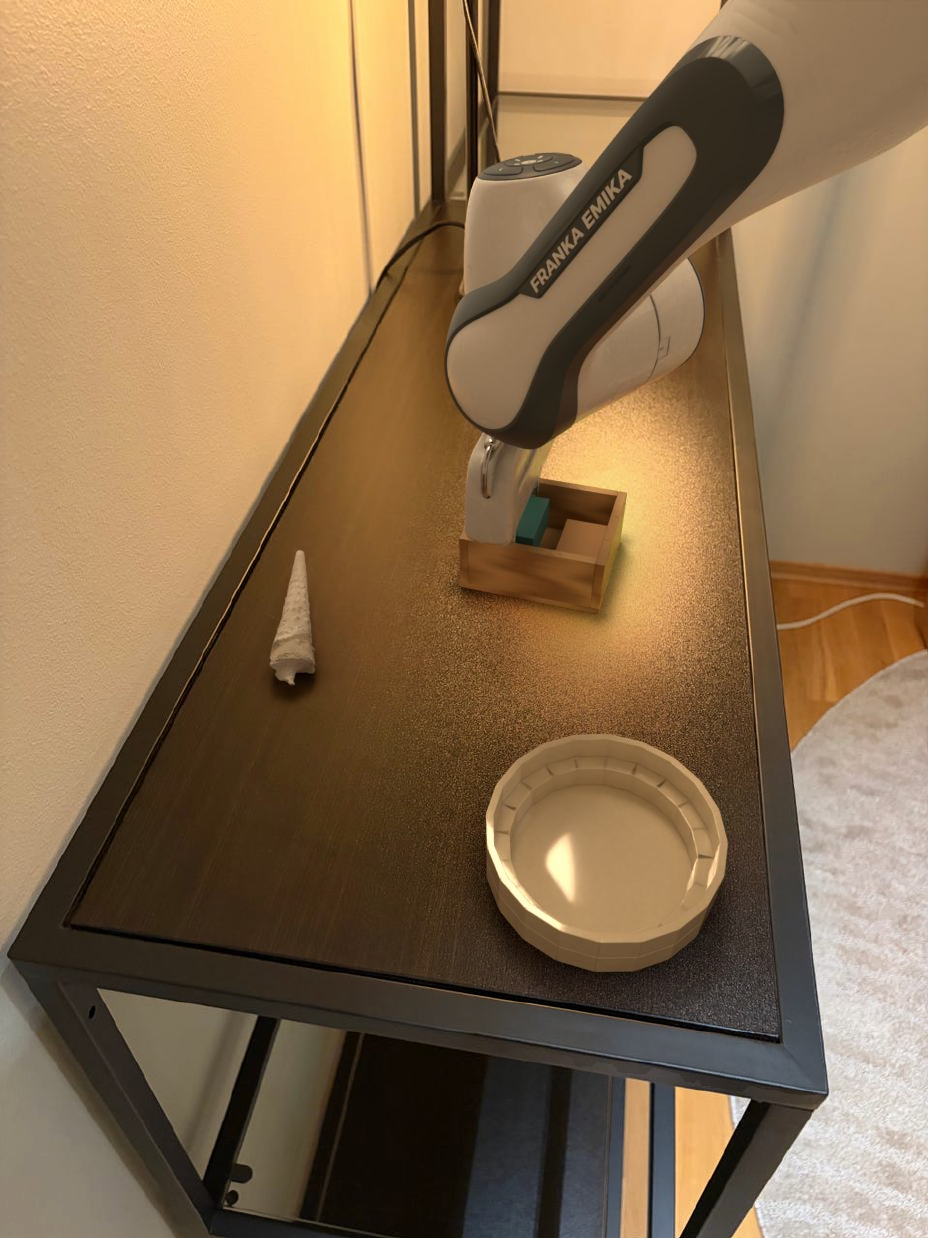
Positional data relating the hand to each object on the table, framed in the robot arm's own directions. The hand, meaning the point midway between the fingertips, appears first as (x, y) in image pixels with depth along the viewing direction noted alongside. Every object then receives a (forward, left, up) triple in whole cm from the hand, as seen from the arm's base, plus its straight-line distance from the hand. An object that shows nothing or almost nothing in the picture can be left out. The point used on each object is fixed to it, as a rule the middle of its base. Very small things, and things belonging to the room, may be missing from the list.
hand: (517, 520), depth 78 cm
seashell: (+14, +15, -5) cm, 21 cm away
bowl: (-14, +29, -4) cm, 32 cm away
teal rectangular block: (0, 0, -2) cm, 2 cm away
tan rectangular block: (-6, 0, -4) cm, 7 cm away
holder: (-3, 0, -4) cm, 5 cm away
